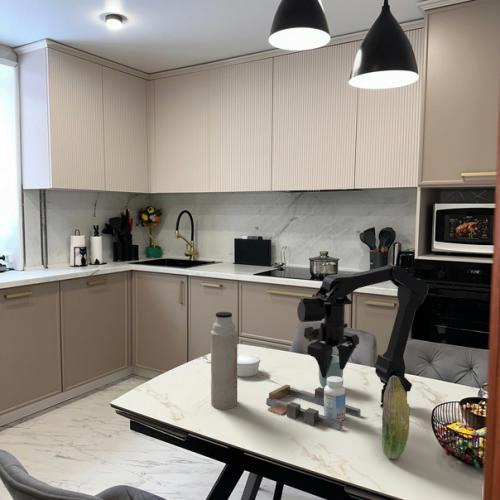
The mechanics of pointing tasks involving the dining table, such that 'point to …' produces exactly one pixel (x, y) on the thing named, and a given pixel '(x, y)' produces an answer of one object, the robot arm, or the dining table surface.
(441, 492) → the dining table surface
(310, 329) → the robot arm
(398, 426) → the vegetable
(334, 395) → the pill bottle
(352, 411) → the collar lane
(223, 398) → the thermos bottle
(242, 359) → the ramekin
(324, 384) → the cup
